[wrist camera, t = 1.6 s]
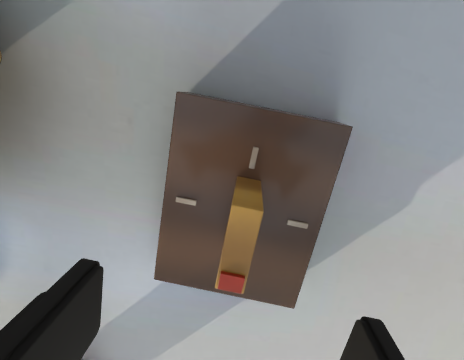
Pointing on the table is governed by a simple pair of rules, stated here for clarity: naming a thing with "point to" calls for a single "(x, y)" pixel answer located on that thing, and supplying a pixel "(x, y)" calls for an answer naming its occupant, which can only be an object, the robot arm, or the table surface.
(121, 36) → the table surface
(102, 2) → the table surface
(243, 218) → the thumbturn
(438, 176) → the table surface
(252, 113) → the plate
